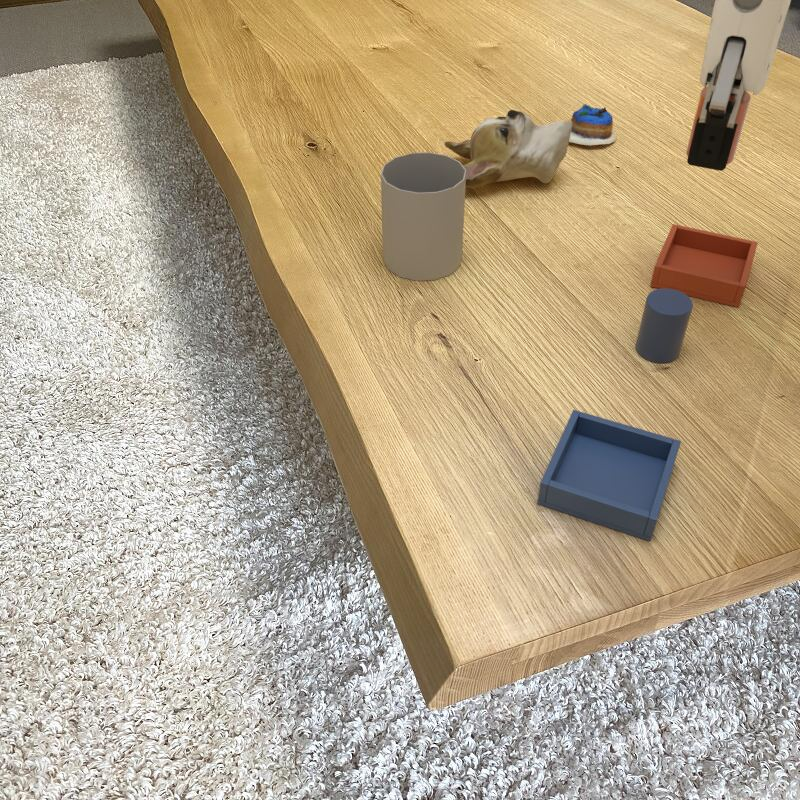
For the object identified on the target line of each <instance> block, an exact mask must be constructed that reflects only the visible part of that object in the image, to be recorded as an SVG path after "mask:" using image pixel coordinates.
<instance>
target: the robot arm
mask: <svg viewBox="0 0 800 800" xmlns="http://www.w3.org/2000/svg"><path fill="white" fill-rule="evenodd" d="M791 2H792V0H714V4H713V8H712V13H711V17H710V23H709V27H708V31H707V32H708V33H707V37H706V42H705V48H704V53H703V58H702V63H701V68H700V69H701V70H700V74H699V82H700V84H701V85H702V87H704V88H706V87H707V92H706V96H705V100H704V103H703V107H702V111H701V115H700V118H698V119H697V122H696V126H695V130H694V134H693V139H692V143H691V147H690V151H689V155H688V156H687V160H686V162H687V164H688V165H689V166H692V167H697V168H703V169H707V170H708V169H710V170H714V171H720V172H721V171H724V170H725V169H726V168H727V165H728V164H727V161H728V158H729V154H730V151H731V147H732V143H733V140H734V136H735V133H736V129H737V125H738V124H735V120H736V117H737V113H738V110H739V106H740V102H741V99H742V95H743V93H744V90H745V91H746V92H748V93H750V92H751V93H752V96H758V95H759V94H762V92H764V89H765V87H766V85H767V84H766V83H767V81H768V79H769V75H770V72H771V69H772V66H773V63H774V59H775V56H776V53H777V50H778V47H779V42H780V40H781V36H782V32H783V29H784V26H785V23H786V19H787V17H788V12H789V8H790V6H791ZM730 95H734V96H735V98H734V101H733V105H732V101H729V99H730Z"/></svg>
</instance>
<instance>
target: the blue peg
mask: <svg viewBox="0 0 800 800" xmlns="http://www.w3.org/2000/svg"><path fill="white" fill-rule="evenodd" d="M693 308H694V303H693V300H692V299H691V298H690V296H688V295H686V294H684V293H683V292H680V291H678V290H674V289H666V288H663V289H659V288H656V289H654V290H652V291H650V292H649V293H648V294H647V296H646V298H645V303H644V308H643V312H642V316H641V319H640V320H641V321H640V324H639V327H638V332H637V337H636V340H635V341H636V342H635V346H634V347H635V351H636V352H637V353H638V355H639V356H640V357H641V358H643V359H644V360H645V361H646V360H647V361H649V362H652V363H656V364H668V363H671V362H674V361H675V360H676V359H678V357H679V356H680V354H681V351H682V346H683V343H684V340H685V335H686V333H687V328H688V325H689V322H690V318H691V316H692V315H691V314H692V310H693Z"/></svg>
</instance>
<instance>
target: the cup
mask: <svg viewBox="0 0 800 800" xmlns="http://www.w3.org/2000/svg"><path fill="white" fill-rule="evenodd" d="M463 165H464V164H462V162H461V161H459V160H457V159H455V158H453V157H451V156H449V155H446V154H440V153H437V152H436V153H435V152H430V151H427V152H410V153H406V154H402V155H398V156H394V158H391V159H390V160H388V161H387V162H386V163H384V164H383V166H382V169H381V172H380V200H381V233H382V235H381V239H382V261H383V263H384V264H385V267H386V269H387V270H388V271H390V273H393V274H394V275H396V276H398V277H400V278H403V279H405V280H406V279H407V280H410V281H411V280H412V281H416V282H422V281H423V282H424V281H436V280H439V279H443V278H446V277H448V276H450V275H452V274H454V273H455V272H456V271H457V270H458V269H459V268H461V264H462V260H463V248H464V247H463V245H464V226H465V224H464V223H465V205H466V203H465V202H466V187H465V186H466V169H465V168H464V167H463Z"/></svg>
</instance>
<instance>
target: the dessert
mask: <svg viewBox="0 0 800 800" xmlns="http://www.w3.org/2000/svg"><path fill="white" fill-rule="evenodd" d="M569 120H570V121H572V130H571V134H570V139H569V143H573V144H578V145H581V146H582V145H584V146H598V145H610V144H612V143H614V142H616V140H617V133H616V131H615V129H614V124H613V123H614V122H613V120H614V119H613V116H612V114H611V113H610V112H609V111H608V110H607V107H602V108H597V107H595V108H594V107H591V106H590V105H587V103H585V104H583V105H582V106H581V107H580V108H579V109H577V110H575V111H574V112H573V113H572V115H571V118H570V119H569ZM569 120H568V121H569Z"/></svg>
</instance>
